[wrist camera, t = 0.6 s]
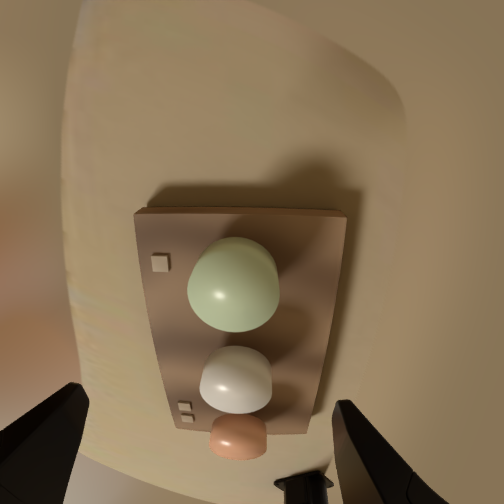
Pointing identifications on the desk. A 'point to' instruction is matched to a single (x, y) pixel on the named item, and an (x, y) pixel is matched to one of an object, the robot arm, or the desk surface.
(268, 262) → the sage button
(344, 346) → the desk surface
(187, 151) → the desk surface
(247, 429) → the terracotta button
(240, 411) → the grey button
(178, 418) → the console
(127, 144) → the desk surface
